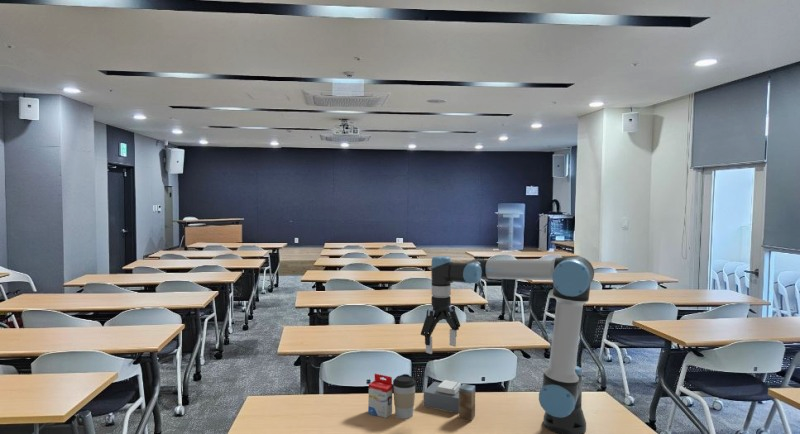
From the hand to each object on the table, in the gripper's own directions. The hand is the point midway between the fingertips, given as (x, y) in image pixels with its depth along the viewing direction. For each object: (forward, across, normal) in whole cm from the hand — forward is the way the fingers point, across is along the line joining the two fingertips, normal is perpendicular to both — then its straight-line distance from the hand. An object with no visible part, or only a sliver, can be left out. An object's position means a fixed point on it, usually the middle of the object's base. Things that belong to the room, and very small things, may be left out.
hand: (441, 349), depth 182 cm
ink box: (+26, +18, -16) cm, 35 cm away
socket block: (+26, -8, -5) cm, 27 cm away
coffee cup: (+26, +12, -9) cm, 30 cm away
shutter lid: (+19, -8, -3) cm, 21 cm away
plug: (+26, -5, +9) cm, 28 cm away
